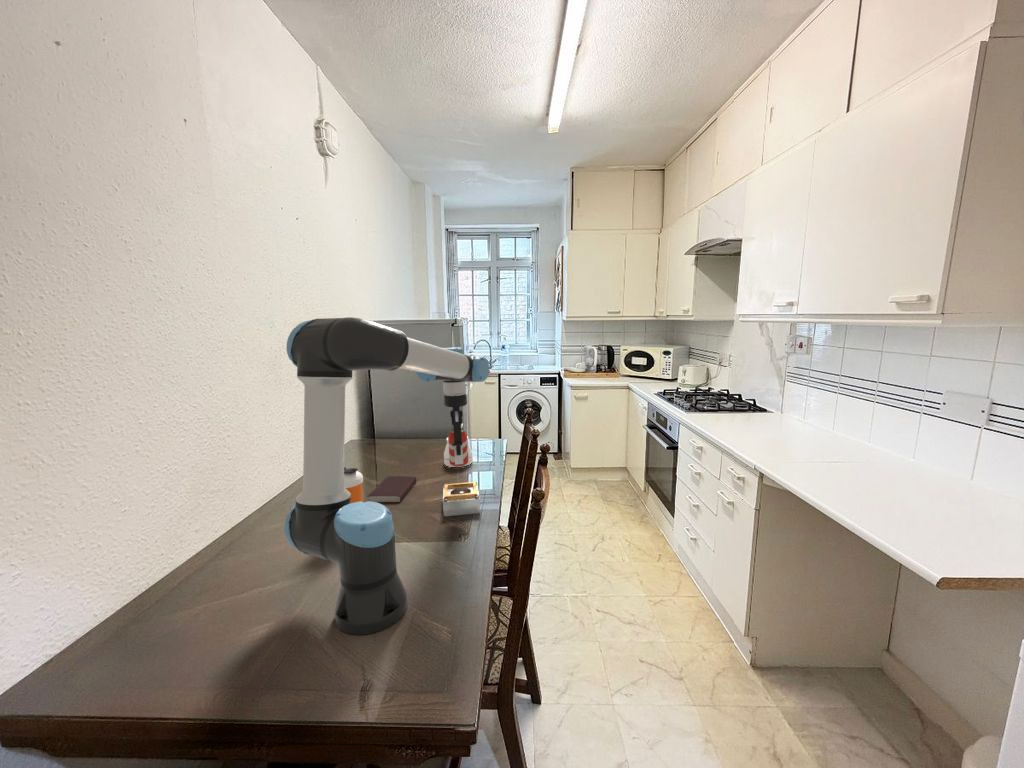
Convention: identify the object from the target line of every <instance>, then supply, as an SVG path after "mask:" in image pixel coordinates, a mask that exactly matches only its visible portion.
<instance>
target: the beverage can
mask: <svg viewBox="0 0 1024 768" xmlns="http://www.w3.org/2000/svg"><path fill="white" fill-rule="evenodd" d="M448 431H449V433H448V435H447V438H448V441H447V442H448V444H449V460H450V464H451V465H453V466H455V467H461V466H465V465H466V464H467V463H468V443H469V442H468V443H467V436H468V434H467V432H466V429H465V428H461V435H462V448H463V464H456V465H455V453H454V446H452V444H454V428H452V429H450V430H448ZM457 442H458V441H457Z"/></svg>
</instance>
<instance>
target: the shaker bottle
mask: <svg viewBox="0 0 1024 768" xmlns="http://www.w3.org/2000/svg"><path fill="white" fill-rule="evenodd" d="M358 470H359V468H356V467H347V466H344V488H345V489H347V490H348V491H349V492H350V494H351V503H355V502H361V501H362V502H364V489H363V485H364V484H363V482H364V477H363V476H364V475H363V473H361V472H360V471H358ZM351 503H350V504H351Z"/></svg>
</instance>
